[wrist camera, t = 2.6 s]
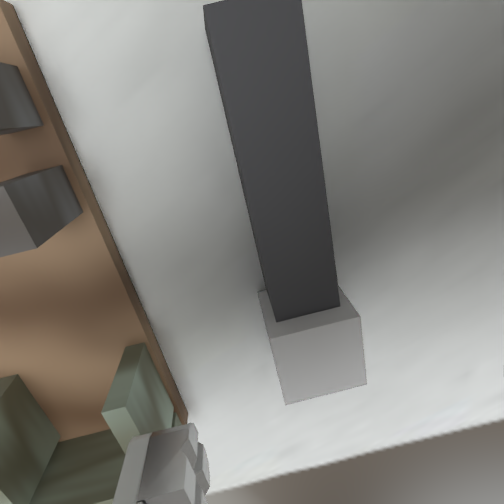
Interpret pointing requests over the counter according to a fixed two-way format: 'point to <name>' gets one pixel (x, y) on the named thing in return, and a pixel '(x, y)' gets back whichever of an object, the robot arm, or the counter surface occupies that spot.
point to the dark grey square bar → (285, 193)
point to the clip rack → (64, 311)
